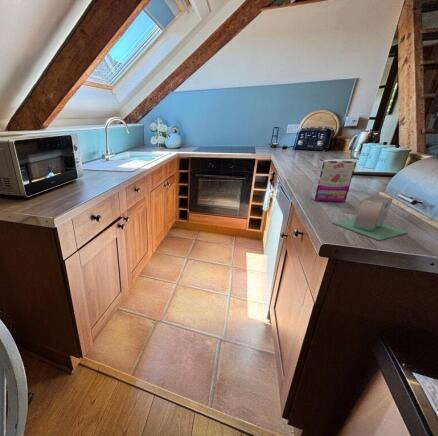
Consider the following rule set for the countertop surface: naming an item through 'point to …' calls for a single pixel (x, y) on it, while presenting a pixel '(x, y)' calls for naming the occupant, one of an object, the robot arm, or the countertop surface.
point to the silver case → (372, 213)
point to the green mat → (378, 234)
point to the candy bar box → (333, 180)
